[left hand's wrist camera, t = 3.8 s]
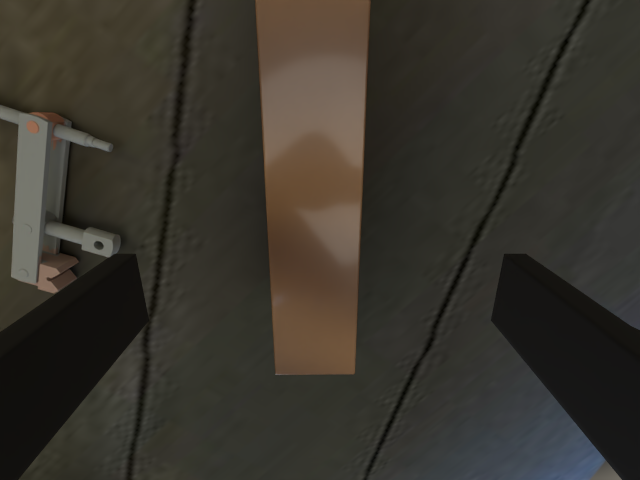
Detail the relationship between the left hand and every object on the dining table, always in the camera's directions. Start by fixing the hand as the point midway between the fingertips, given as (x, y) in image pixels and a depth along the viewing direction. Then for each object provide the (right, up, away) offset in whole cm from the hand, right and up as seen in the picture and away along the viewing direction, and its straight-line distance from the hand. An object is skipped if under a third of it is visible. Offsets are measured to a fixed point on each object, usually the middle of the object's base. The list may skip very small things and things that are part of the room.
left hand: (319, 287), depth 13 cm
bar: (0, +27, +3) cm, 28 cm away
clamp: (-18, +6, +11) cm, 21 cm away
